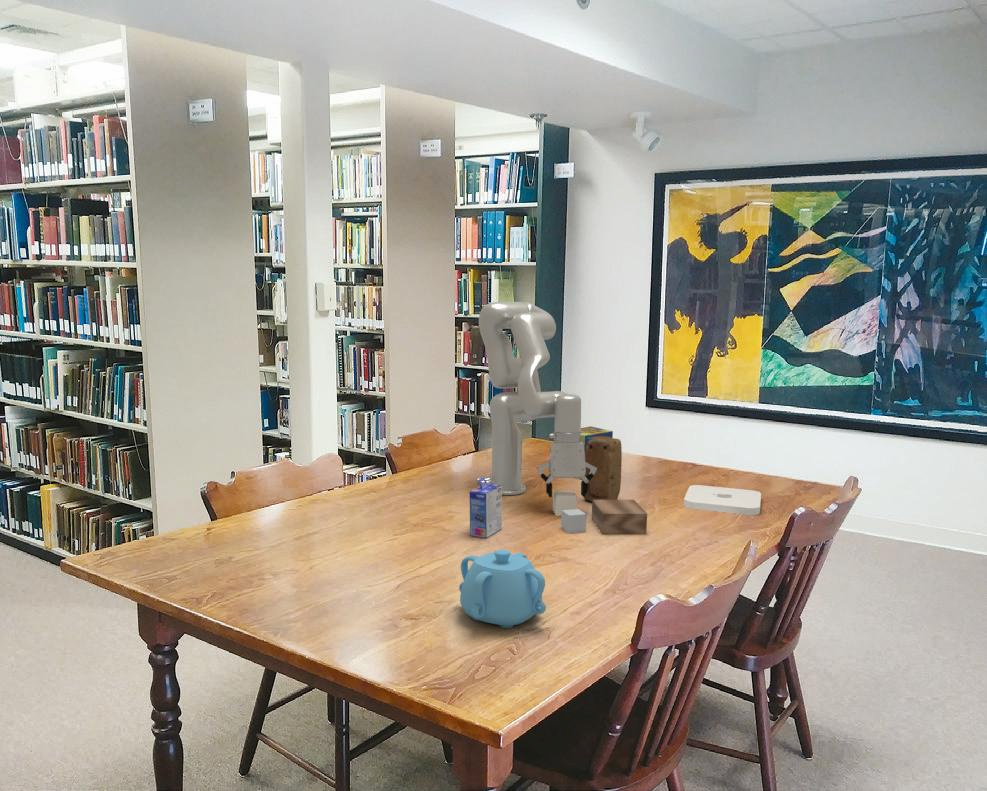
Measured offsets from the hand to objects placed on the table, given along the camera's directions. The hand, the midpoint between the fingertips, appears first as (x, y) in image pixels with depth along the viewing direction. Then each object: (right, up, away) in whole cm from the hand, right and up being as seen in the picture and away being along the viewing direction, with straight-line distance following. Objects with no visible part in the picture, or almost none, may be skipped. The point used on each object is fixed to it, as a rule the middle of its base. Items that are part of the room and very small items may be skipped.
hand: (566, 495), depth 237 cm
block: (+12, -4, +14) cm, 19 cm away
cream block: (0, -5, +1) cm, 5 cm away
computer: (+50, -5, +16) cm, 52 cm away
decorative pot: (-20, -16, -72) cm, 77 cm away
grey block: (+1, -8, -15) cm, 16 cm away
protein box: (+11, +1, +50) cm, 51 cm away
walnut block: (+13, -7, -11) cm, 19 cm away
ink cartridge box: (-23, -8, -18) cm, 30 cm away
